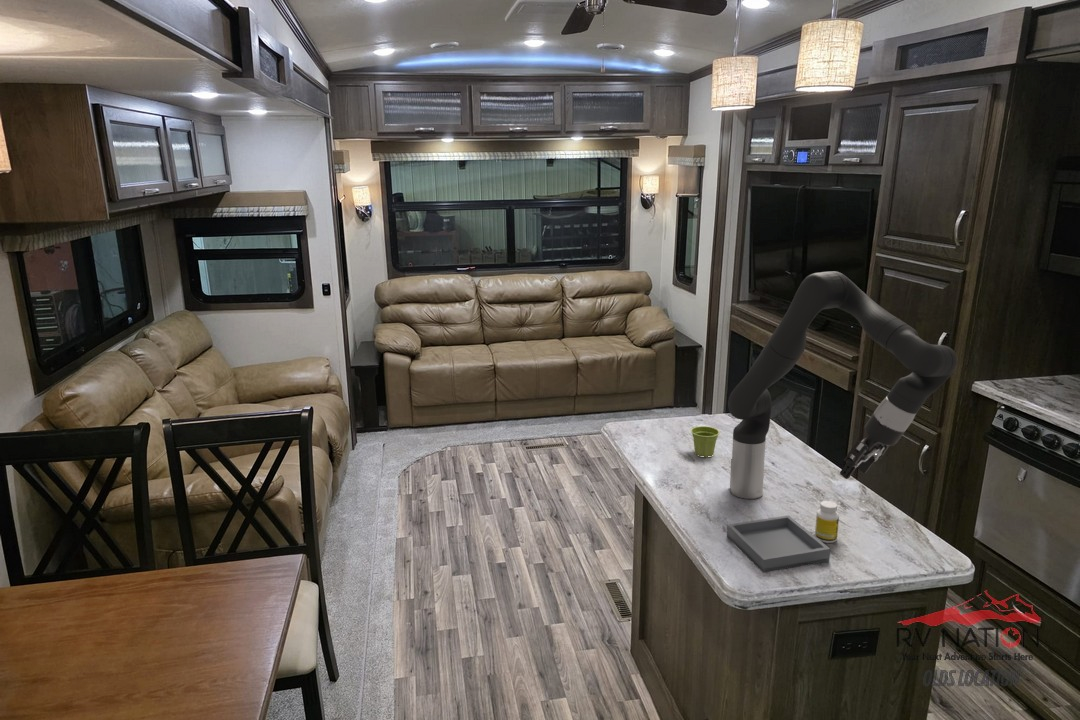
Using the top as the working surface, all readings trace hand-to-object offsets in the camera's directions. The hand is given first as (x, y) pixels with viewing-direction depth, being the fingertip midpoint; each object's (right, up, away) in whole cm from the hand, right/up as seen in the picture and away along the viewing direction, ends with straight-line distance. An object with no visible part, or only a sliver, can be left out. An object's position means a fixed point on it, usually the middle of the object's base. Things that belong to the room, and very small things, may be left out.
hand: (852, 473), depth 166 cm
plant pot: (-18, -6, +71) cm, 74 cm away
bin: (-14, -21, +12) cm, 28 cm away
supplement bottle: (0, -20, +16) cm, 25 cm away
